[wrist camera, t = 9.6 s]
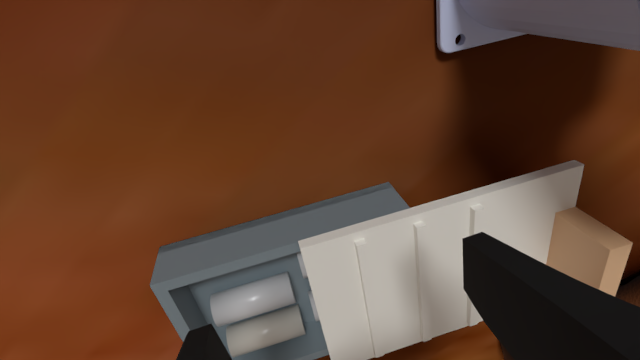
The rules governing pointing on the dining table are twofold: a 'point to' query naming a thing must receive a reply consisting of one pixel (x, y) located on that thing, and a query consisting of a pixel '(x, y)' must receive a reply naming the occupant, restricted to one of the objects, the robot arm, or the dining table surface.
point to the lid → (449, 259)
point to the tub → (259, 277)
